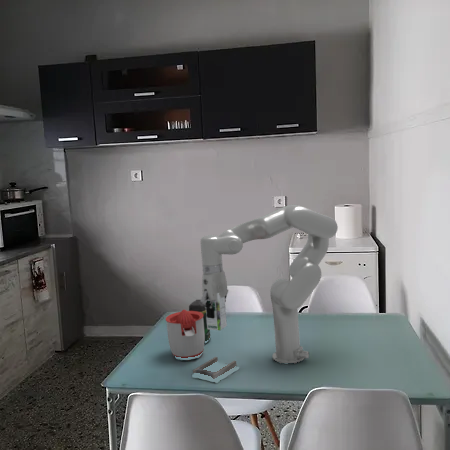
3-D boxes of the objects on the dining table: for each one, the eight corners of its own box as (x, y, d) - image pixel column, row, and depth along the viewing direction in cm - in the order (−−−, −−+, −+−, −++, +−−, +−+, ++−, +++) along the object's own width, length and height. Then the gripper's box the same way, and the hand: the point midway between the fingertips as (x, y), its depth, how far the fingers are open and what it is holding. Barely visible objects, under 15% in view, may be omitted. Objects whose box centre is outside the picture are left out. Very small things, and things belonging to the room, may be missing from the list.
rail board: (239, 369, 195) (238, 361, 195) (217, 383, 184) (216, 375, 184) (214, 363, 202) (213, 356, 202) (191, 377, 191) (190, 369, 191)
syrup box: (206, 329, 193) (203, 292, 191) (214, 324, 198) (211, 288, 196) (220, 331, 190) (217, 293, 188) (227, 325, 195) (224, 288, 193)
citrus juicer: (173, 368, 201) (168, 319, 198) (166, 352, 218) (162, 307, 215) (212, 360, 205) (207, 312, 202) (202, 346, 222) (198, 301, 219)
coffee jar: (207, 345, 222) (203, 304, 220) (190, 345, 224) (186, 304, 221) (212, 337, 231) (209, 297, 229) (196, 337, 233) (192, 298, 231)
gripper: (206, 274, 182) (210, 323, 184) (234, 264, 195) (237, 309, 198) (190, 273, 186) (194, 320, 189) (218, 263, 200) (222, 307, 202)
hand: (216, 314), depth 193 cm, fingers closed on syrup box, 6 cm apart
